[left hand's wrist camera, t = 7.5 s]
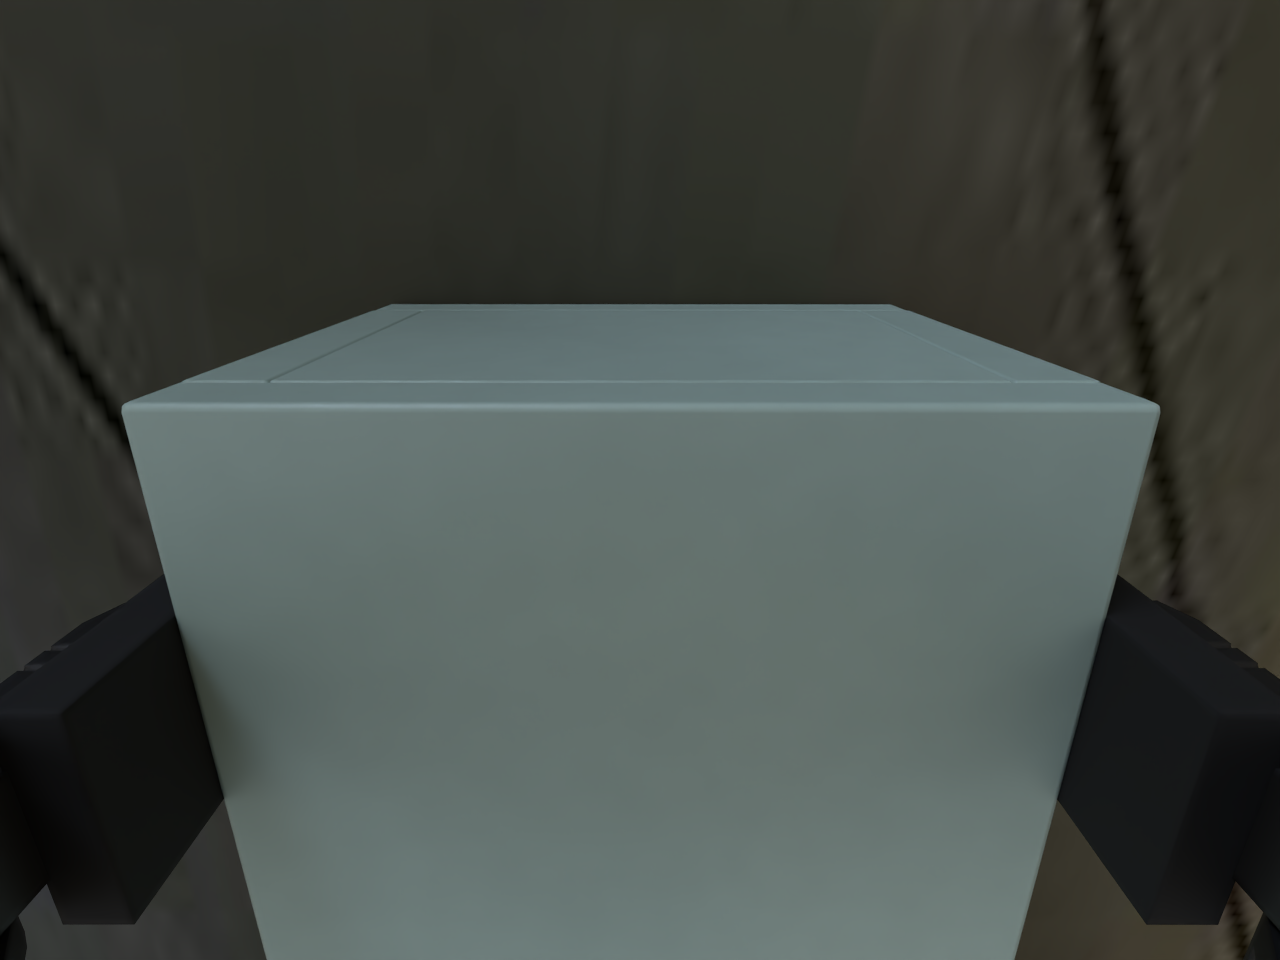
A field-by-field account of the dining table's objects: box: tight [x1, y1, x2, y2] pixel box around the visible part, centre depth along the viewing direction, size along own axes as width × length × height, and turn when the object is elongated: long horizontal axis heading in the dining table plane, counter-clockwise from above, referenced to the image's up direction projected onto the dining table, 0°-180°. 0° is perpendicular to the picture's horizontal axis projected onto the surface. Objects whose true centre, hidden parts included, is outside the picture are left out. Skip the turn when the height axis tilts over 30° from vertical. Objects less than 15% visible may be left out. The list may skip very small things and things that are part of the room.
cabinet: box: [122, 304, 1160, 960], centre depth 15 cm, size 20×11×8 cm, turn 0°
